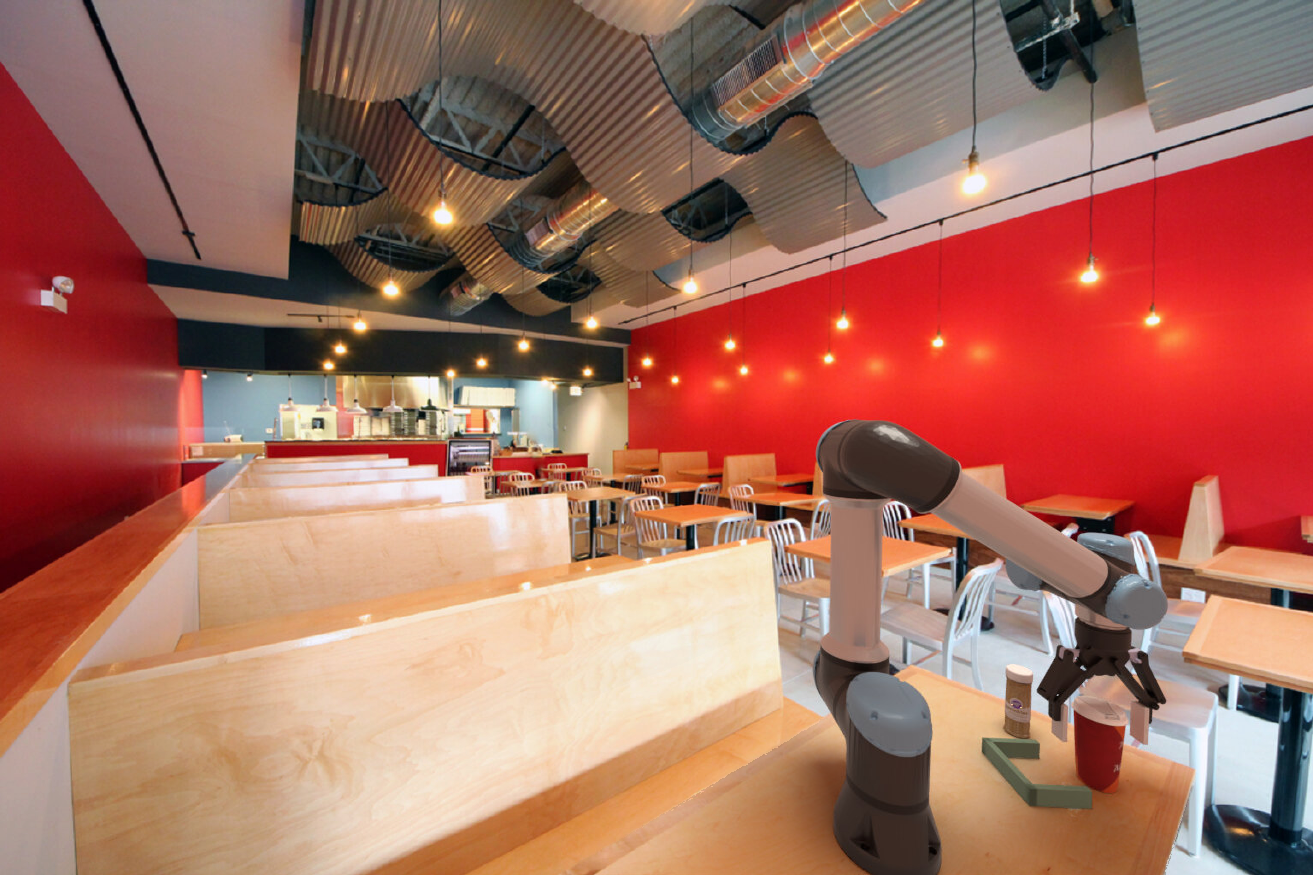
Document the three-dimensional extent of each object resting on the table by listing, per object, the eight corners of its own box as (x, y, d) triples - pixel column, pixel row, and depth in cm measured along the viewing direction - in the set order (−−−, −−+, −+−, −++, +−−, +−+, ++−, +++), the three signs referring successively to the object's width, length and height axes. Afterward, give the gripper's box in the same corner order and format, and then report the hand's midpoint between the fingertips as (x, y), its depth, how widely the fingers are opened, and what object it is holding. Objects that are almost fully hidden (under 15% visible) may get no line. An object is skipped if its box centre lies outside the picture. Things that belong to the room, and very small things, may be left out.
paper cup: (1137, 800, 85) (1140, 720, 84) (1085, 794, 86) (1088, 715, 86) (1105, 769, 92) (1108, 695, 92) (1058, 763, 94) (1061, 690, 93)
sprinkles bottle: (1004, 734, 102) (1007, 670, 102) (1002, 722, 106) (1004, 661, 106) (1032, 741, 100) (1034, 676, 99) (1029, 729, 104) (1031, 666, 103)
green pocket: (1029, 805, 83) (1030, 788, 83) (981, 752, 97) (982, 737, 97) (1091, 808, 83) (1092, 791, 83) (1035, 754, 96) (1035, 739, 96)
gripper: (1044, 629, 85) (1041, 750, 86) (1198, 632, 84) (1193, 755, 84) (1015, 612, 92) (1012, 723, 93) (1156, 614, 91) (1152, 727, 92)
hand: (1098, 738), depth 89 cm, fingers open, 13 cm apart
